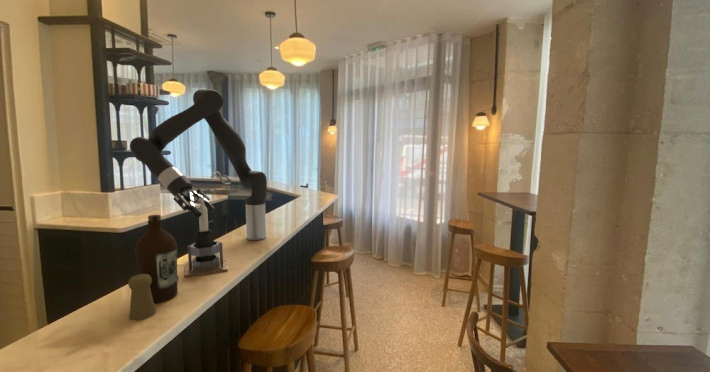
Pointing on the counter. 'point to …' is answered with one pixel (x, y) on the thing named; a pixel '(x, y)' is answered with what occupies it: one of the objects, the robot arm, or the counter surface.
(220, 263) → the collar stand
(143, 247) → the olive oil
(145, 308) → the cork
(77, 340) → the counter surface
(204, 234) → the bottle
